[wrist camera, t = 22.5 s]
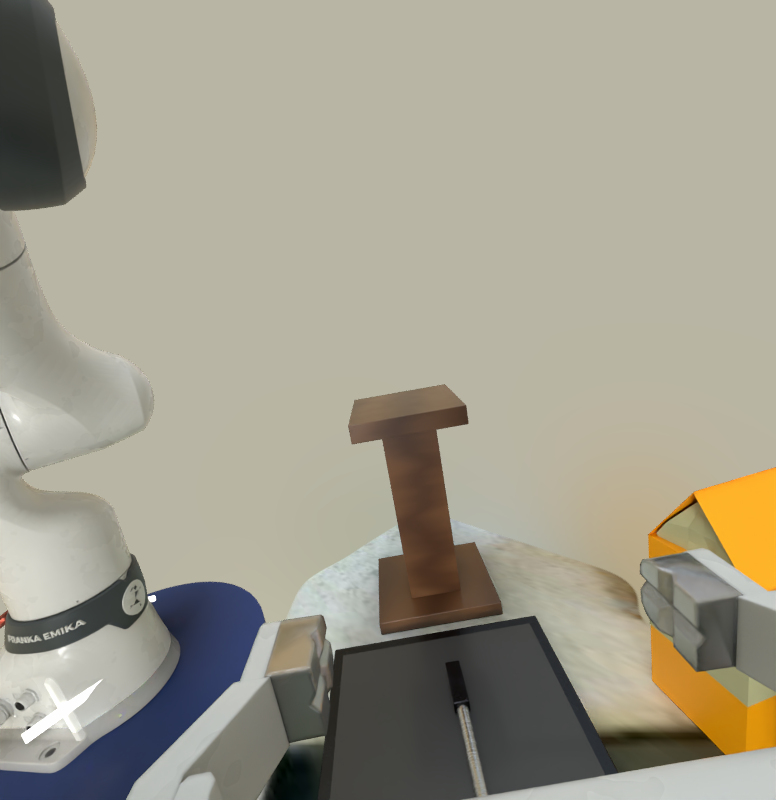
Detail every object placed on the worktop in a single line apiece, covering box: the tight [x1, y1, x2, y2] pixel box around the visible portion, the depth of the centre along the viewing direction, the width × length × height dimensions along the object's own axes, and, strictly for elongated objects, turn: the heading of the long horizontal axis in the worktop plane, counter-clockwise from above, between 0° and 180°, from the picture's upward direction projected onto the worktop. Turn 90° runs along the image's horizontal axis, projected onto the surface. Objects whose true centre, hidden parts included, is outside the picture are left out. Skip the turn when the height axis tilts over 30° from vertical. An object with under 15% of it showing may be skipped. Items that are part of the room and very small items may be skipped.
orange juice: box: [648, 467, 776, 755], centre depth 29 cm, size 8×9×20 cm
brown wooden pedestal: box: [348, 384, 502, 634], centre depth 47 cm, size 14×12×25 cm
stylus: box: [445, 660, 489, 797], centre depth 29 cm, size 1×16×1 cm, turn 3°
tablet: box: [318, 616, 618, 800], centre depth 32 cm, size 22×20×1 cm
